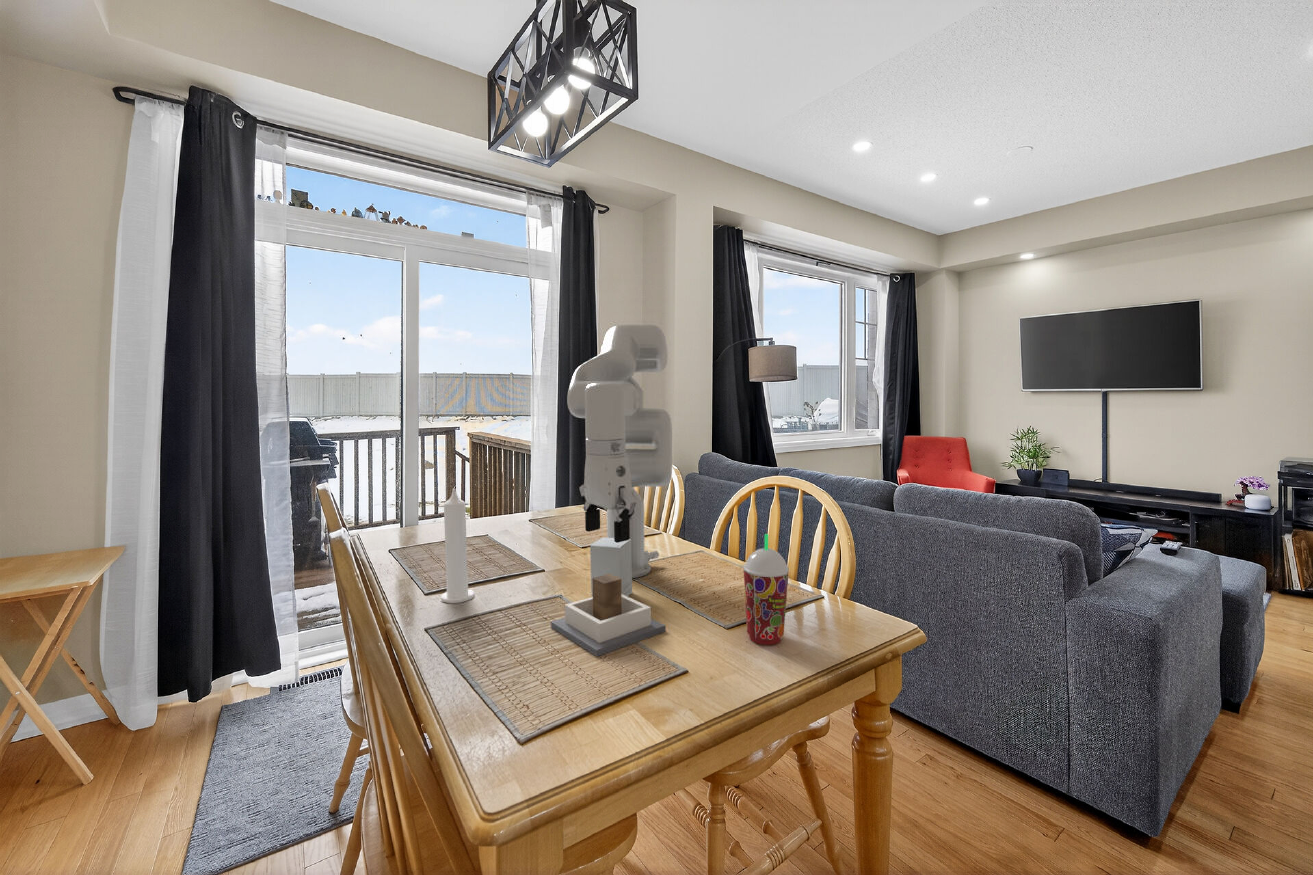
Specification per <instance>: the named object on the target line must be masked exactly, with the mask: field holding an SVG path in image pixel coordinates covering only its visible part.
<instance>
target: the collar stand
mask: <svg viewBox="0 0 1313 875" xmlns="http://www.w3.org/2000/svg"><path fill="white" fill-rule="evenodd" d="M621 598H622V614H621V615H618V616H615V617H611V618H608V619H605V620H602V621H600V620H598V619H596V618H595V617H593V597H592V596H591V597H587V598H584V599H580V600H577V601H574V602H569V603H566V604H564V617H562V618H559V619H555V620H551V621H550V628H551V629H553V630H554V631H556V632H558V633H559V634H561V635H562V634H563V637H565V636H566V637H565V638H567V639H568V640H570V641H572V642H573V643H574V644H576V645H578V646H579V645H580V646H579V647H581V648H582V647H583V648H582V649H584V650H585V649H586V650H585V651H587V652H589V653H590V652H591V653H590V654H591V655H594V656H595V657H599V656H602V655H606V654H608V653H610V652H613V651H616V650H618V648H619V649H621V648H620V647H622V648H625V647H626V646H625V645H627V646H630V645H632V644H635V643H638V642H640V641H643V640H645V639H649V638H651V637H654V636H656V635H660V634H662V633H664V632H666V624H663V623H661V622H659V621H658V620H656V619H653V618H652V607H651V606H649V605H647V604H645V603H642V602H640V601H639V600H635V599H634V598H631V597H629V596H628V597H627V596H625V595H623V594H621ZM629 644H630V645H629ZM615 649H616V650H615ZM607 652H608V653H607Z"/></svg>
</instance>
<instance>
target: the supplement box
mask: <svg viewBox="0 0 1313 875" xmlns="http://www.w3.org/2000/svg"><path fill="white" fill-rule="evenodd" d="M589 548H590V550H589V551H590V552H589V554H590V581H591V582H590V585H591V586H590V588H591V597H593V582H592V578H595V577H599V576H603V575H606V574H611V575H613V576H616V577H618V578H620V579H621V594H623V595H625V596H627V597H629V596H630V595H631V594H632V593H633V578H632V555H631V539H629V540H627V541H623V542H619V543H617V542H615V541H614V538H607V536H606V537H605V536H603V537H601V538H600V539H598V540H596V541H595V542H593V543H592V544H590V545H589Z"/></svg>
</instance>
